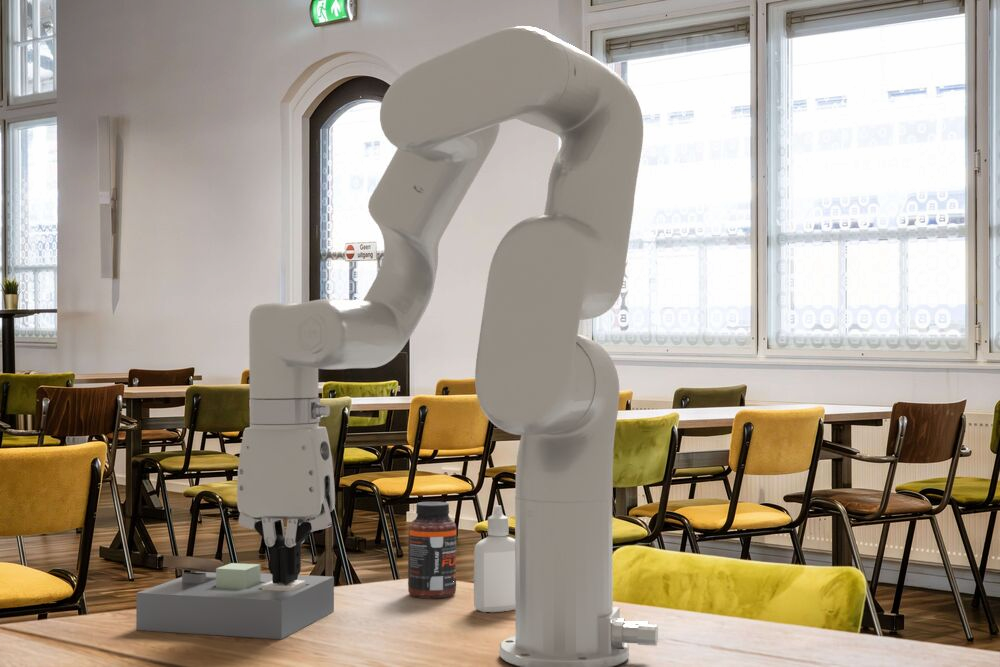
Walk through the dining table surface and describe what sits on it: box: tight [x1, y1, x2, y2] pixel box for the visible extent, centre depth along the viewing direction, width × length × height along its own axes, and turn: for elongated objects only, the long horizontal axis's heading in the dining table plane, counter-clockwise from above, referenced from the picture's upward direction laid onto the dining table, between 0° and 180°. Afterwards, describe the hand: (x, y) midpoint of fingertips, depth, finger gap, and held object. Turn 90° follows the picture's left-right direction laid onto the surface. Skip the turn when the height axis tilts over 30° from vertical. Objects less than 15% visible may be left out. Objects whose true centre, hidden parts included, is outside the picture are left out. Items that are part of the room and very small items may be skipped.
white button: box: [262, 580, 306, 592], centre depth 134 cm, size 4×4×3 cm
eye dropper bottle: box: [473, 504, 515, 613], centre depth 141 cm, size 4×6×12 cm
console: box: [135, 571, 335, 640], centre depth 136 cm, size 17×14×5 cm
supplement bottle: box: [407, 501, 457, 600], centre depth 150 cm, size 6×6×11 cm
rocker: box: [162, 554, 225, 573], centre depth 137 cm, size 3×8×1 cm, turn 165°
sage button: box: [216, 562, 262, 589], centre depth 136 cm, size 4×4×3 cm
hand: (285, 581), depth 134 cm, fingers closed
